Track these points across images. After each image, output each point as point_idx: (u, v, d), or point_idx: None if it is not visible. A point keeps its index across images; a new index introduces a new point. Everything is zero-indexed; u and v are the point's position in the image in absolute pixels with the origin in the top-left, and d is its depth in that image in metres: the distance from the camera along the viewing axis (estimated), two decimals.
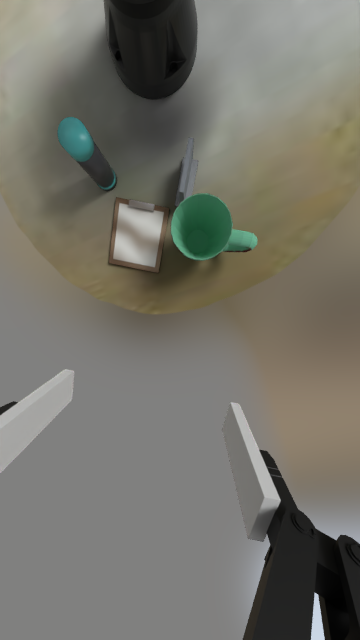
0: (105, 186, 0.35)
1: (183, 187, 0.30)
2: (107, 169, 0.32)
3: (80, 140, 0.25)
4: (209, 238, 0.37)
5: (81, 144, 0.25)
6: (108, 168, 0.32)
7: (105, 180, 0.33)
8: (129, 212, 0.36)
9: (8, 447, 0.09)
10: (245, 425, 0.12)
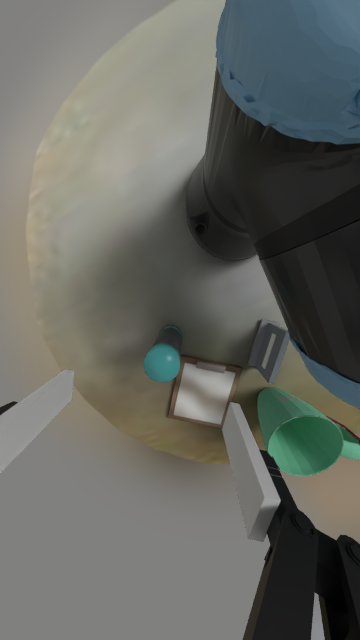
0: None
1: (274, 379, 0.26)
2: None
3: (171, 371, 0.21)
4: None
5: (171, 374, 0.21)
6: None
7: None
8: (195, 372, 0.32)
9: (8, 447, 0.09)
10: (245, 425, 0.12)
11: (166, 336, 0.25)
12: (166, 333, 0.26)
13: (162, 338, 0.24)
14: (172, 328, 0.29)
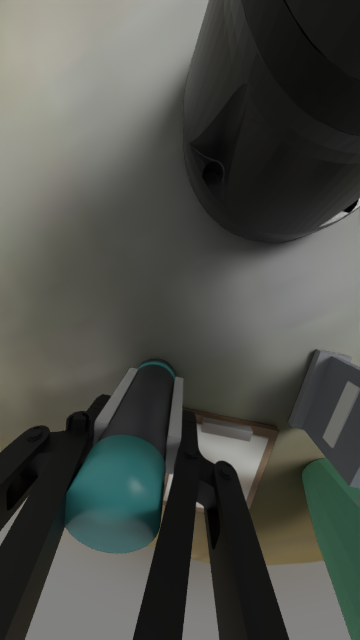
0: None
1: None
2: None
3: (137, 531, 0.07)
4: None
5: (139, 538, 0.08)
6: None
7: None
8: (200, 436, 0.19)
9: None
10: (179, 392, 0.14)
11: (140, 396, 0.12)
12: (142, 385, 0.13)
13: (128, 407, 0.11)
14: (157, 367, 0.16)
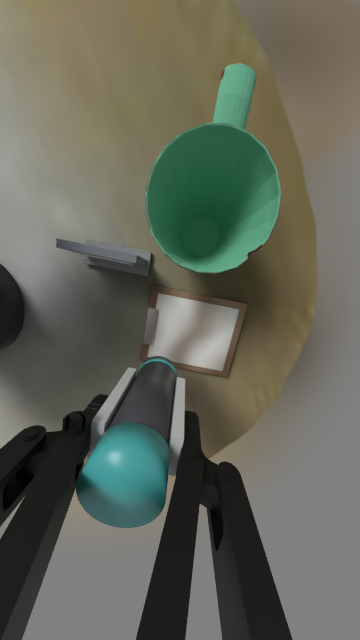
0: None
1: (129, 255, 0.18)
2: None
3: (145, 506, 0.08)
4: (197, 214, 0.21)
5: (146, 513, 0.08)
6: None
7: None
8: (159, 343, 0.25)
9: None
10: (181, 393, 0.14)
11: (145, 390, 0.13)
12: (146, 380, 0.14)
13: (134, 399, 0.12)
14: (160, 363, 0.17)
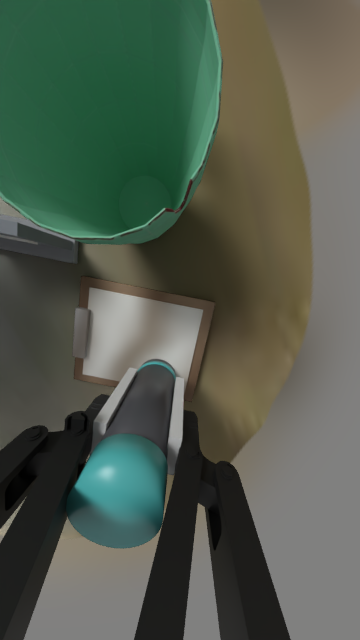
0: None
1: (5, 223, 0.11)
2: None
3: (140, 526, 0.08)
4: (136, 171, 0.15)
5: (141, 533, 0.08)
6: None
7: None
8: (96, 357, 0.18)
9: None
10: (180, 392, 0.14)
11: (142, 396, 0.12)
12: (144, 385, 0.13)
13: (131, 406, 0.11)
14: (158, 367, 0.16)
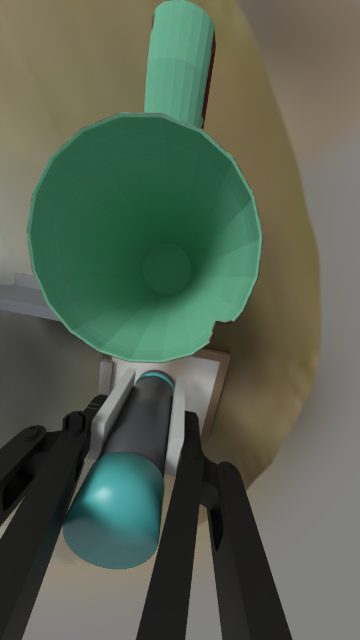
0: None
1: (49, 310, 0.12)
2: None
3: (133, 551, 0.08)
4: (160, 241, 0.16)
5: (133, 558, 0.08)
6: None
7: None
8: None
9: (109, 430, 0.11)
10: (181, 393, 0.14)
11: (145, 411, 0.12)
12: (146, 399, 0.14)
13: (134, 421, 0.11)
14: (160, 380, 0.17)
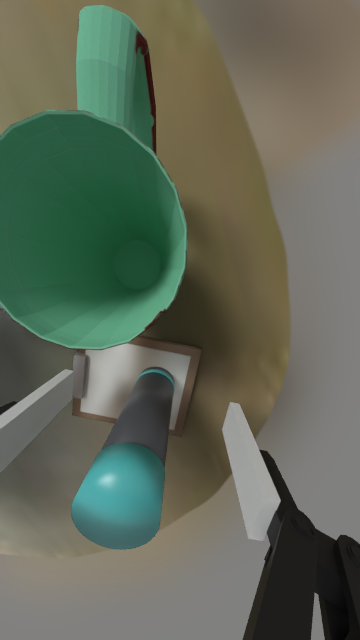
0: None
1: None
2: None
3: (136, 532, 0.08)
4: (129, 237, 0.16)
5: (136, 538, 0.09)
6: None
7: None
8: (93, 396, 0.20)
9: (8, 447, 0.09)
10: (245, 425, 0.12)
11: (147, 406, 0.13)
12: (148, 394, 0.14)
13: (136, 415, 0.12)
14: (161, 376, 0.17)
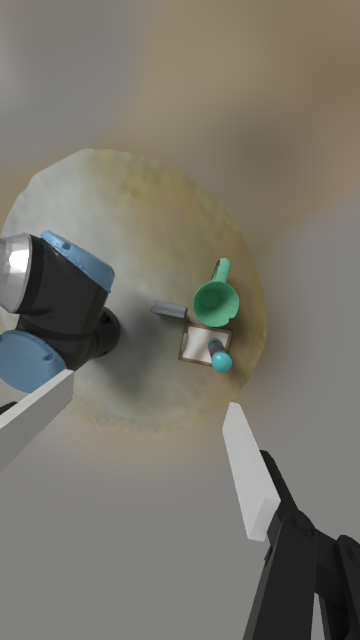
0: None
1: (181, 314, 0.42)
2: None
3: (226, 367, 0.38)
4: (208, 290, 0.46)
5: (226, 369, 0.38)
6: None
7: None
8: (188, 350, 0.50)
9: (8, 447, 0.09)
10: (245, 425, 0.12)
11: (220, 346, 0.43)
12: (218, 344, 0.44)
13: (219, 347, 0.42)
14: (219, 340, 0.47)
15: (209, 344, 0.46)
